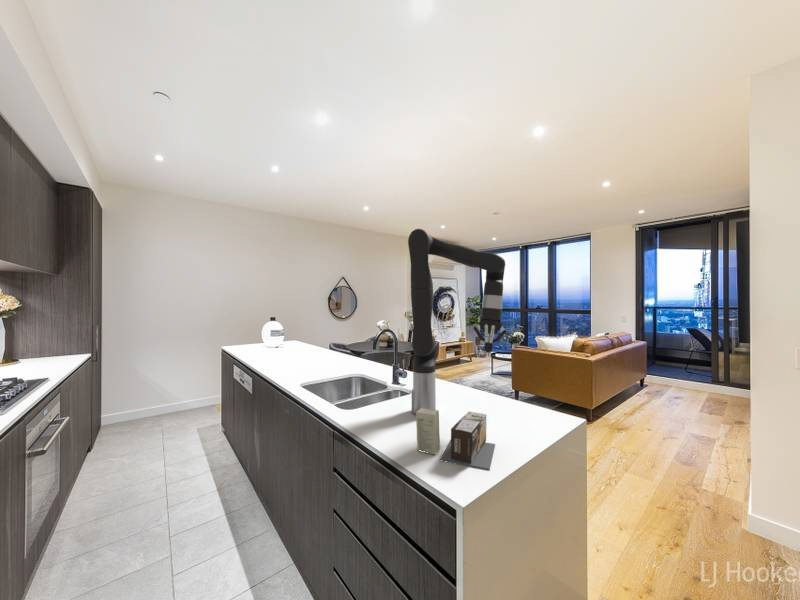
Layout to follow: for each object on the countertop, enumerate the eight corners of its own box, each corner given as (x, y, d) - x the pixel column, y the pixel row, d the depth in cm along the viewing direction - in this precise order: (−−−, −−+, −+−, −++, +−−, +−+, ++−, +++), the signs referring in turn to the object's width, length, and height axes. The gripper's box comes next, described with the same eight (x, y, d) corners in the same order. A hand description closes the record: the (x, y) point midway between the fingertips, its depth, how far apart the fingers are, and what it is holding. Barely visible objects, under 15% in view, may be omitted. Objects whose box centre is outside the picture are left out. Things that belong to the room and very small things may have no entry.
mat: (439, 460, 92) (439, 459, 92) (451, 438, 107) (451, 437, 107) (489, 470, 87) (489, 468, 87) (495, 445, 102) (495, 443, 102)
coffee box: (467, 410, 106) (450, 427, 92) (486, 414, 103) (471, 431, 89) (467, 438, 106) (450, 458, 92) (487, 442, 103) (472, 464, 89)
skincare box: (440, 449, 99) (440, 410, 99) (435, 455, 95) (435, 414, 95) (421, 445, 102) (420, 407, 102) (415, 451, 98) (415, 411, 98)
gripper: (472, 305, 121) (469, 351, 121) (509, 308, 116) (505, 355, 115) (476, 306, 128) (472, 349, 127) (510, 309, 123) (507, 354, 122)
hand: (488, 352), depth 121 cm, fingers closed
